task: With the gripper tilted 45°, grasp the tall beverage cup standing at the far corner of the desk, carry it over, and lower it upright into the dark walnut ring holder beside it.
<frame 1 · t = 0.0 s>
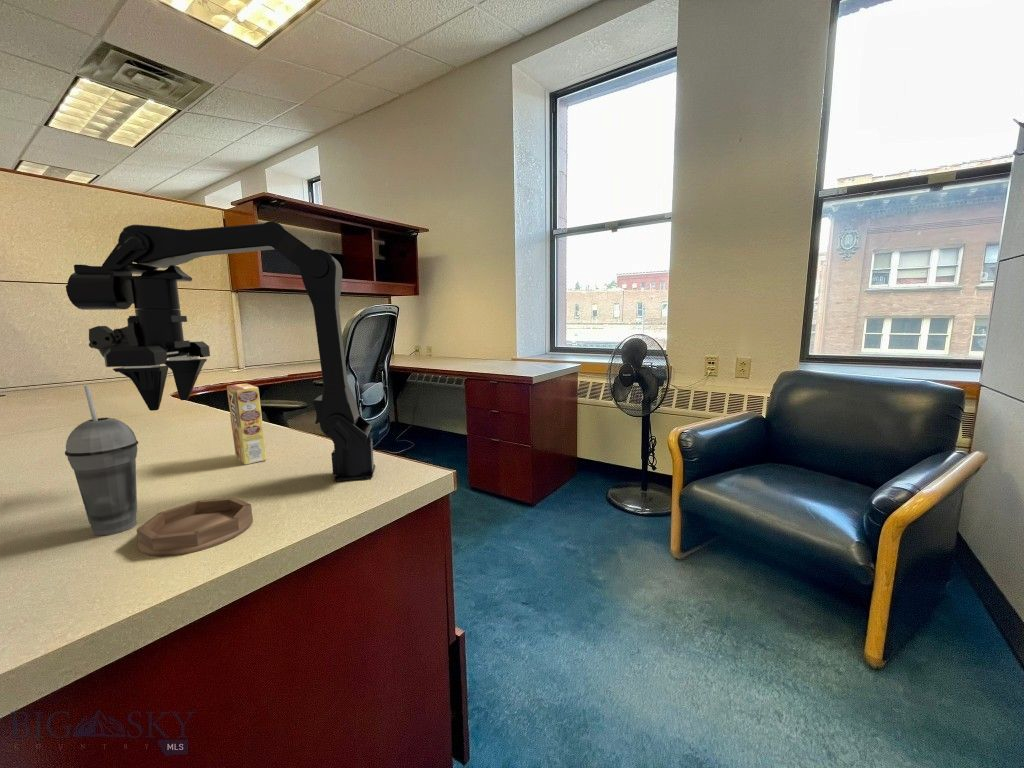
hand: (170, 404, 72), 15 cm above the table, tool pointing down, fingers open, 9 cm apart
beverage cup: (115, 529, 60), on the table
candy box: (250, 459, 91), on the table
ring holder: (199, 531, 59), on the table
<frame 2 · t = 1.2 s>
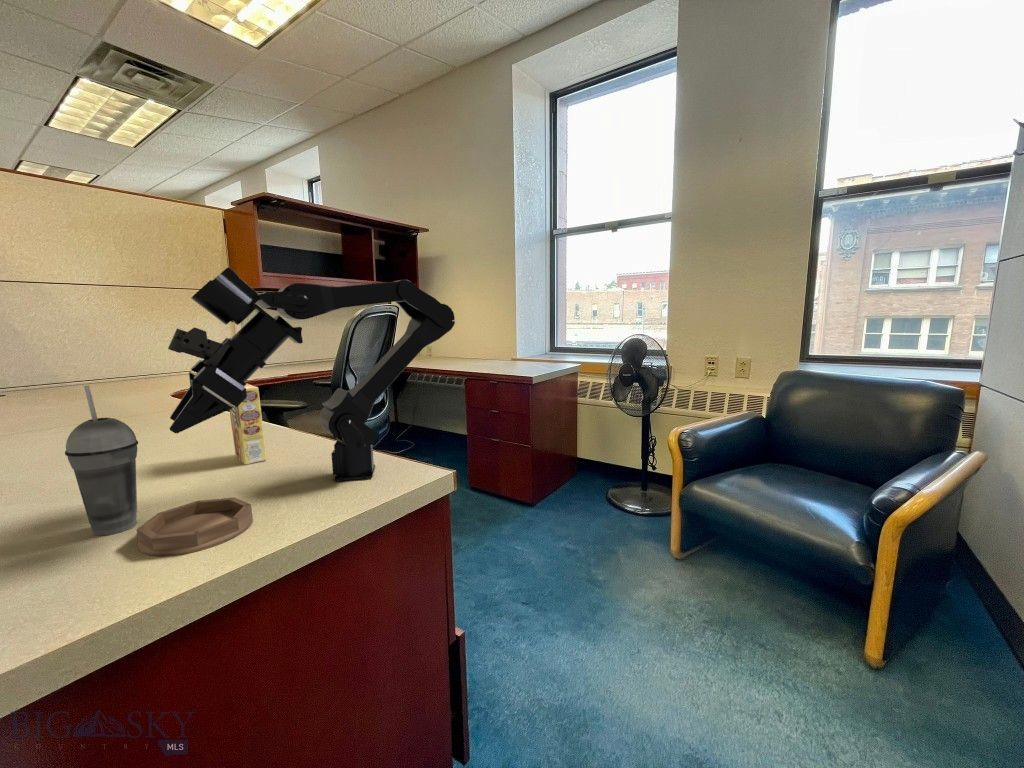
hand: (172, 425, 63), 13 cm above the table, tool tilted 45°, fingers open, 9 cm apart
nothing on the table moved.
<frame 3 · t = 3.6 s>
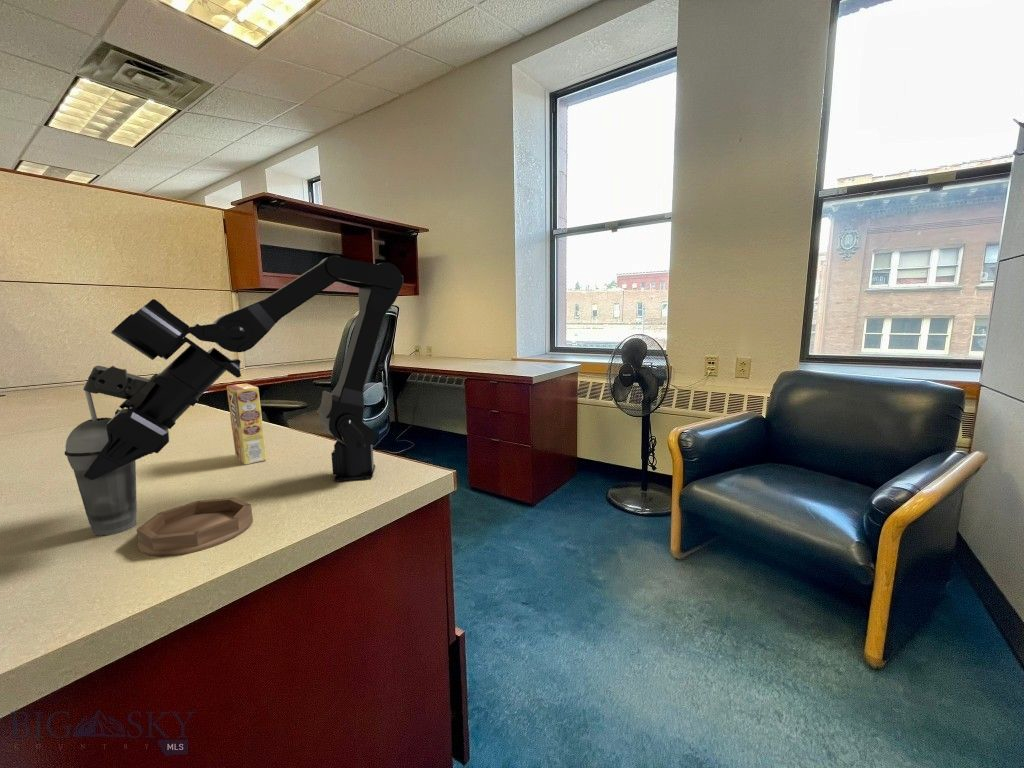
hand: (91, 470, 58), 9 cm above the table, tool tilted 45°, fingers closed on beverage cup, 7 cm apart
beverage cup: (115, 529, 60), on the table, touching gripper
everything else where it was.
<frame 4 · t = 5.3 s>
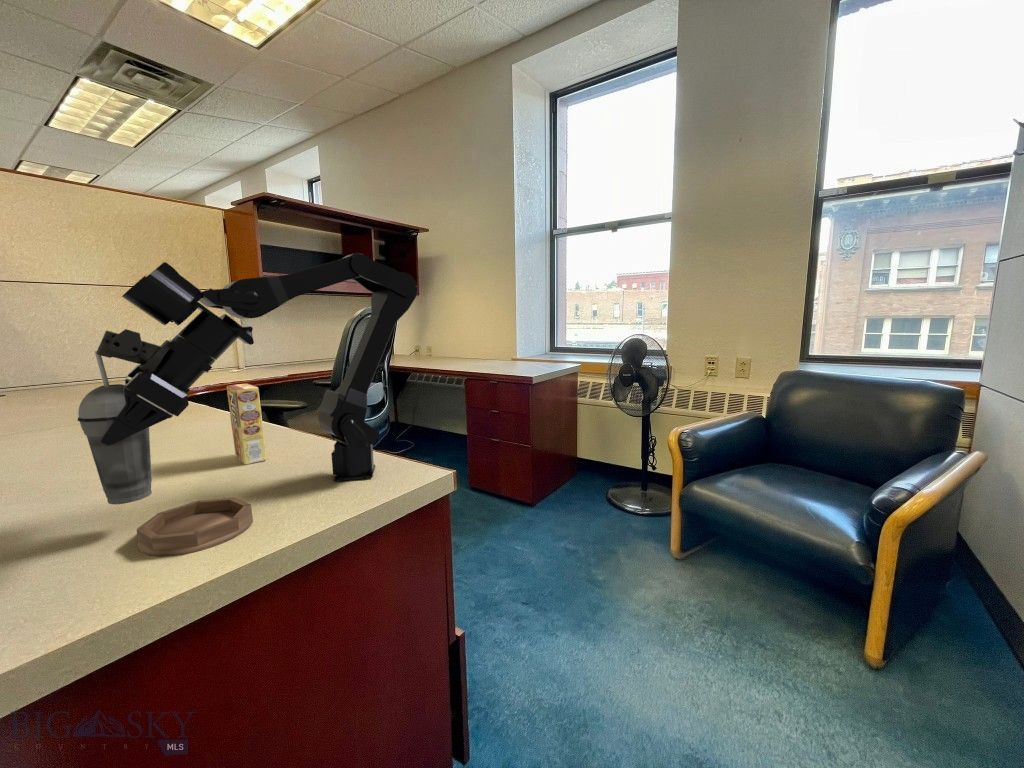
hand: (105, 438, 57), 13 cm above the table, tool tilted 45°, fingers closed on beverage cup, 7 cm apart
beverage cup: (130, 498, 59), point 4 cm above the table, touching gripper
everything else where it was.
when the fingers open (10 cm above the table, at t = 7.4 s): beverage cup stays where it is, resting on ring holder.
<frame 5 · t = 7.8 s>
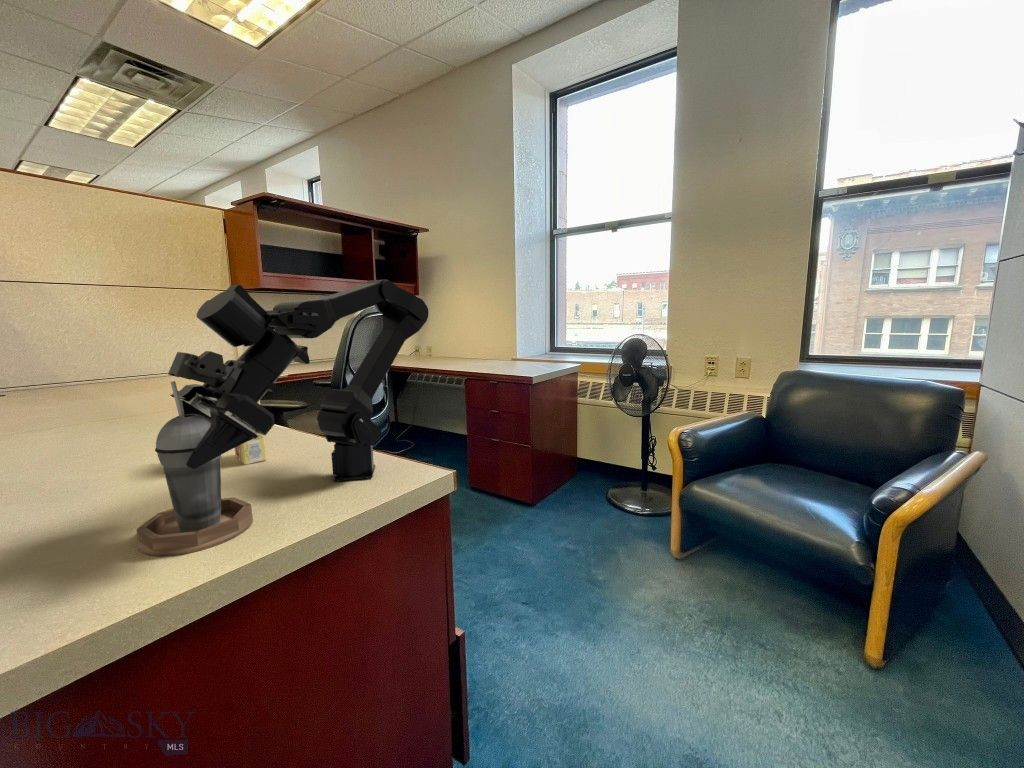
hand: (177, 460, 56), 10 cm above the table, tool tilted 45°, fingers open, 9 cm apart
beverage cup: (201, 528, 59), resting on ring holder
everything else where it was.
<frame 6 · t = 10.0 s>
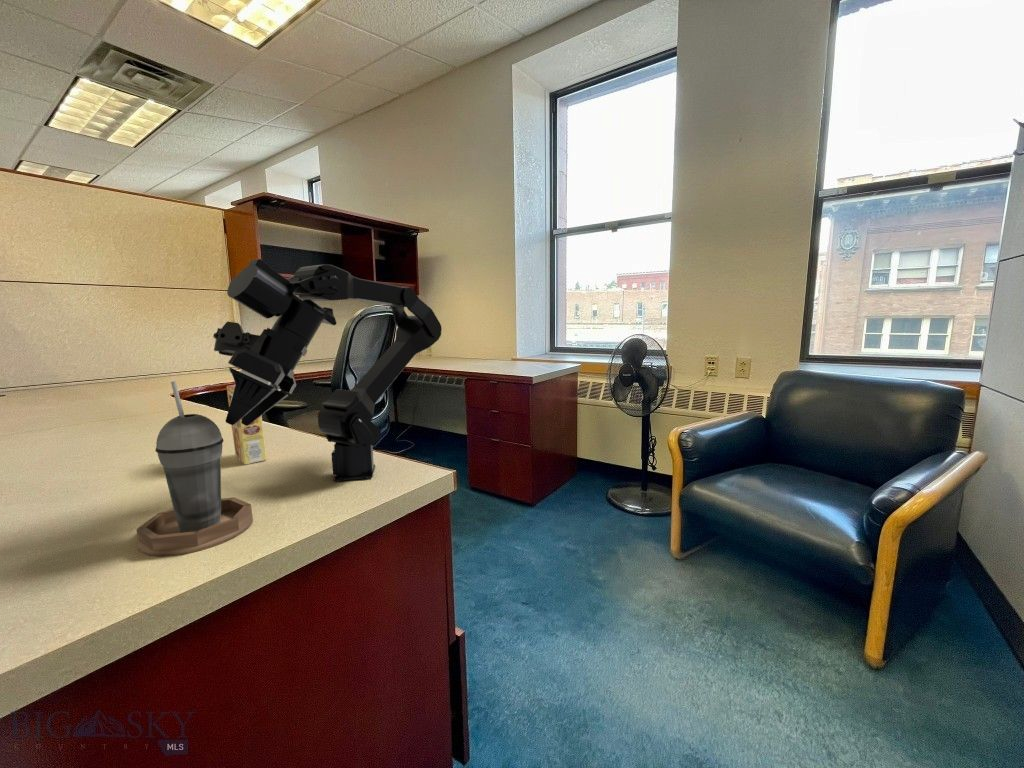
hand: (237, 424, 65), 13 cm above the table, tool tilted 35°, fingers open, 9 cm apart
nothing on the table moved.
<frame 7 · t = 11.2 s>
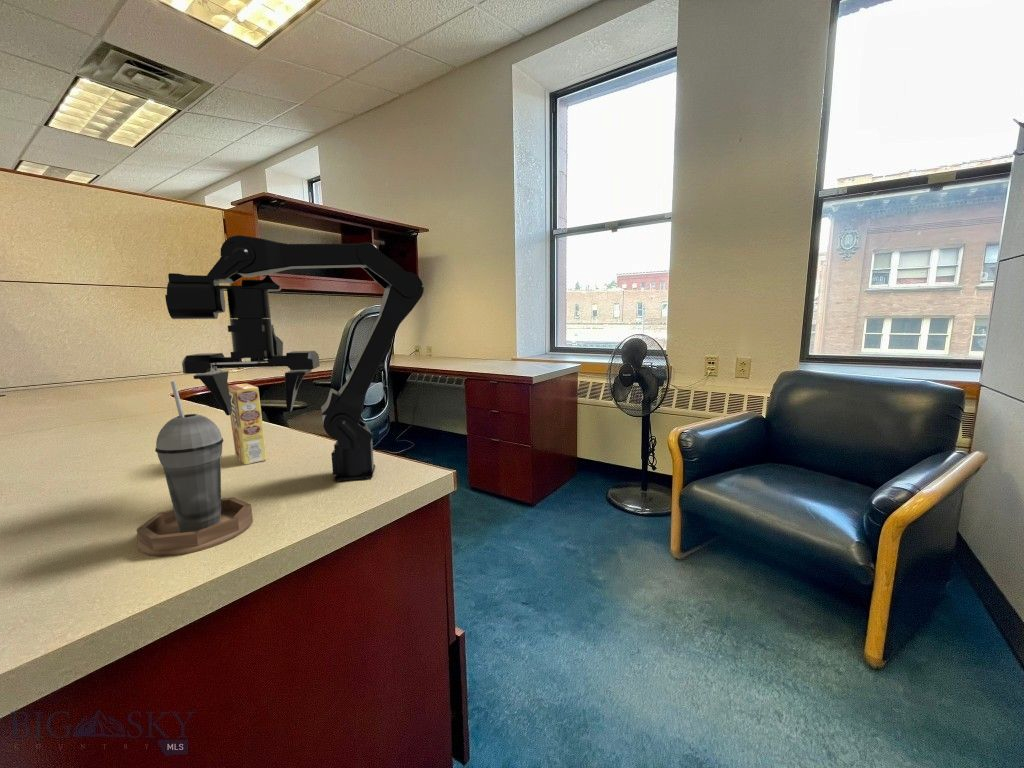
hand: (260, 413, 72), 13 cm above the table, tool pointing down, fingers open, 9 cm apart
nothing on the table moved.
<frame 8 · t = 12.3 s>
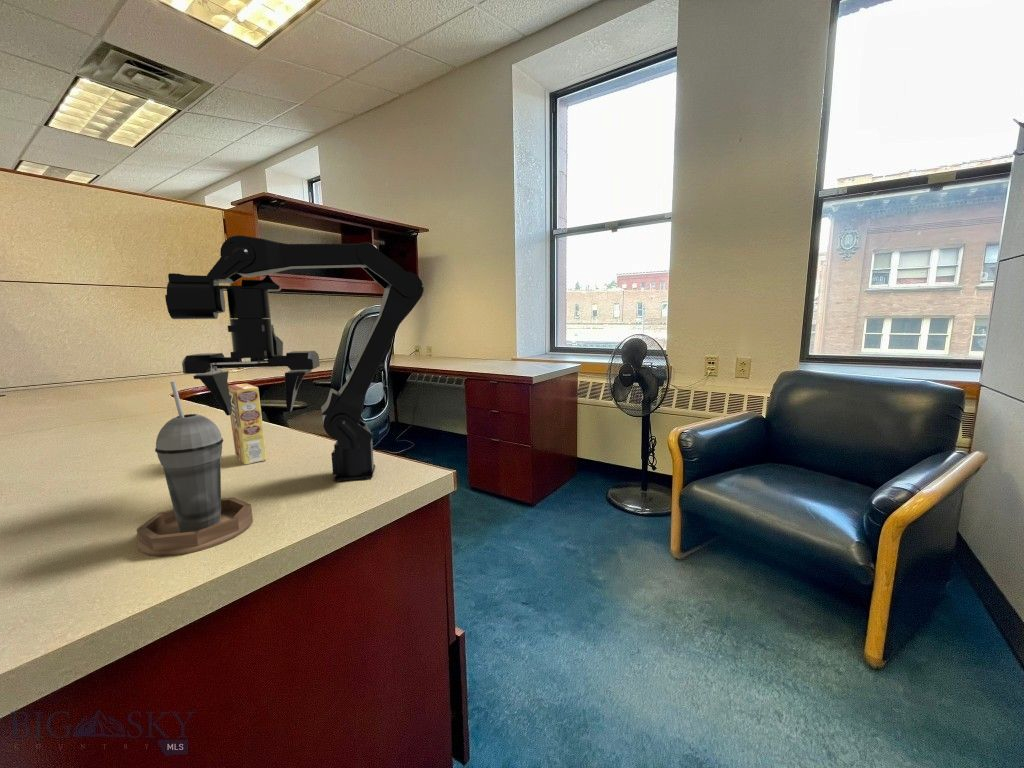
hand: (260, 413, 72), 13 cm above the table, tool pointing down, fingers open, 9 cm apart
nothing on the table moved.
at the end: beverage cup 0.3 cm off-centre on the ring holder, point 0.4 cm above the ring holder's base; beverage cup tilted 0°; the gripper is holding nothing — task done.
